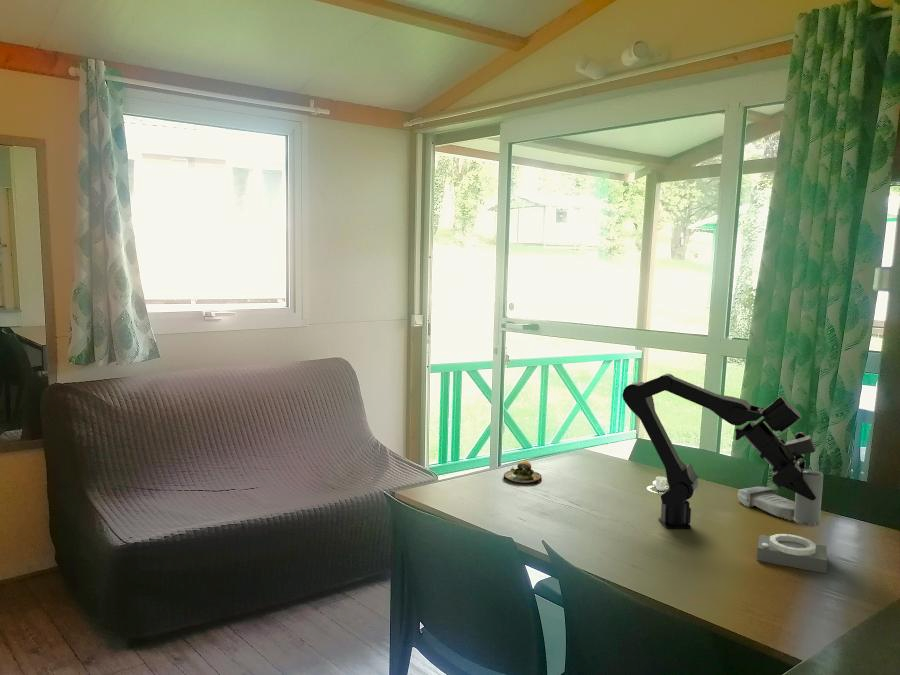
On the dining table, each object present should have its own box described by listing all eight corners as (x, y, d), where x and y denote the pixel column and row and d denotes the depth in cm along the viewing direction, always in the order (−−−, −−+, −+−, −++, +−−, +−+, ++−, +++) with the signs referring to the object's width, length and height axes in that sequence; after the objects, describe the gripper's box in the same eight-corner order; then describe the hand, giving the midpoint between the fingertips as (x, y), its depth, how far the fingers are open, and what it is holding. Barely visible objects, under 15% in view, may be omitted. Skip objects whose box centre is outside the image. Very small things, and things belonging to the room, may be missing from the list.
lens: (800, 525, 159) (804, 475, 158) (789, 517, 165) (792, 468, 164) (825, 526, 159) (829, 476, 158) (813, 518, 165) (817, 469, 163)
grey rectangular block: (756, 560, 156) (757, 543, 155) (759, 546, 164) (760, 529, 164) (826, 574, 149) (827, 555, 149) (825, 558, 158) (826, 540, 157)
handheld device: (794, 527, 178) (795, 509, 177) (733, 503, 196) (734, 487, 196) (820, 522, 182) (821, 504, 181) (757, 498, 200) (758, 483, 200)
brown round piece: (496, 479, 214) (496, 456, 214) (520, 472, 222) (521, 450, 222) (524, 489, 206) (525, 464, 205) (549, 481, 214) (550, 457, 213)
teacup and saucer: (652, 484, 212) (653, 471, 212) (678, 489, 208) (679, 476, 207) (642, 491, 205) (643, 478, 205) (669, 497, 201) (669, 483, 200)
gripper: (792, 431, 154) (844, 487, 149) (797, 416, 170) (844, 466, 165) (751, 459, 158) (801, 515, 154) (760, 442, 174) (805, 492, 170)
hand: (814, 495), depth 161 cm, fingers closed on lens, 5 cm apart
